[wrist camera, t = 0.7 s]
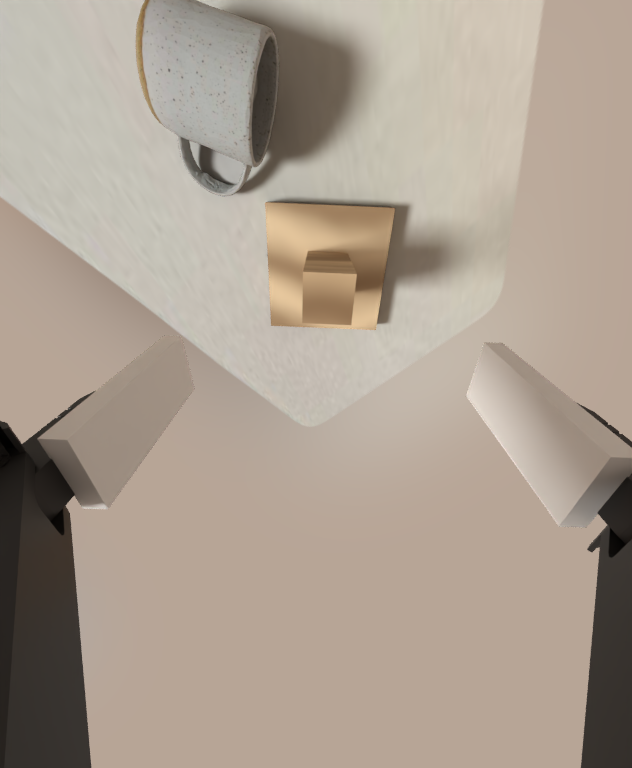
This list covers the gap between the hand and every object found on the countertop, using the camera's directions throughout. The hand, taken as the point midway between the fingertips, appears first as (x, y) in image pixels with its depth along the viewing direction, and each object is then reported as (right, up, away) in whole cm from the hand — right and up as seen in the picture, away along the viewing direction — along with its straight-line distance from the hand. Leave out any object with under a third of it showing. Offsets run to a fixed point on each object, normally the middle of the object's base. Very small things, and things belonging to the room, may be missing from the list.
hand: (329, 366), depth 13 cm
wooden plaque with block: (0, +11, +18) cm, 21 cm away
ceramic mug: (-8, +22, +12) cm, 26 cm away
